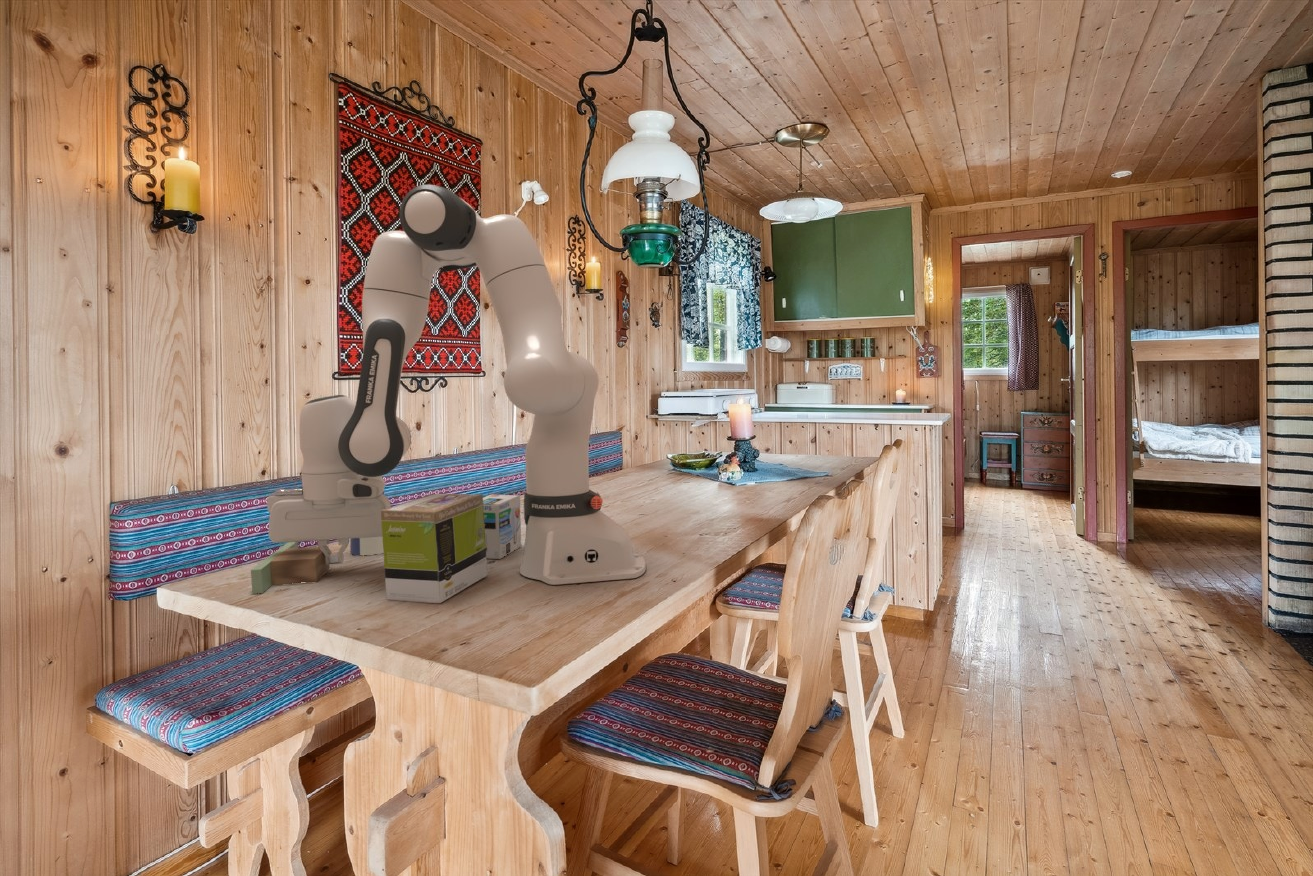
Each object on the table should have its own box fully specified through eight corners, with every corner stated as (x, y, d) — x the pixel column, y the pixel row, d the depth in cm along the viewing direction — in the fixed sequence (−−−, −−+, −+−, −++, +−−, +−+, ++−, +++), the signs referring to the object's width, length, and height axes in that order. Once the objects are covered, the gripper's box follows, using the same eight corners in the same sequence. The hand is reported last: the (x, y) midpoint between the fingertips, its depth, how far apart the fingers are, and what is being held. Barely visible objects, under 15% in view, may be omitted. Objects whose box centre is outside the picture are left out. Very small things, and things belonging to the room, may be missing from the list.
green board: (298, 561, 131) (297, 541, 130) (262, 593, 111) (260, 569, 111) (290, 562, 130) (288, 541, 130) (252, 594, 111) (250, 570, 111)
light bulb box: (500, 560, 130) (498, 504, 129) (468, 558, 132) (465, 503, 131) (522, 546, 141) (521, 494, 140) (492, 545, 142) (490, 493, 141)
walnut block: (329, 570, 126) (328, 546, 126) (316, 584, 117) (315, 558, 117) (288, 573, 124) (286, 548, 124) (271, 587, 116) (270, 561, 115)
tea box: (437, 574, 121) (434, 491, 120) (488, 577, 119) (485, 493, 118) (383, 600, 107) (378, 507, 106) (440, 605, 104) (436, 509, 103)
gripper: (259, 493, 116) (265, 572, 118) (387, 487, 121) (391, 563, 122) (272, 487, 122) (277, 562, 124) (393, 481, 127) (396, 555, 128)
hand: (334, 563), depth 123 cm, fingers closed
